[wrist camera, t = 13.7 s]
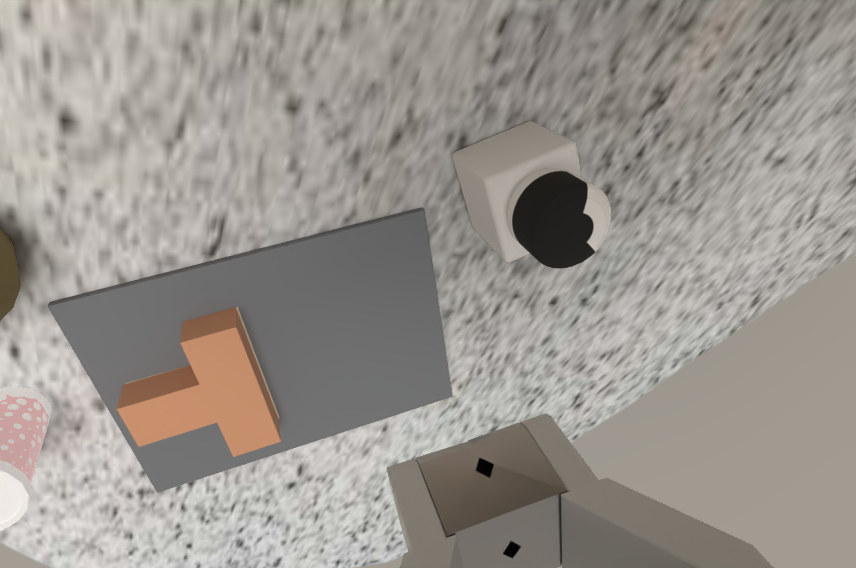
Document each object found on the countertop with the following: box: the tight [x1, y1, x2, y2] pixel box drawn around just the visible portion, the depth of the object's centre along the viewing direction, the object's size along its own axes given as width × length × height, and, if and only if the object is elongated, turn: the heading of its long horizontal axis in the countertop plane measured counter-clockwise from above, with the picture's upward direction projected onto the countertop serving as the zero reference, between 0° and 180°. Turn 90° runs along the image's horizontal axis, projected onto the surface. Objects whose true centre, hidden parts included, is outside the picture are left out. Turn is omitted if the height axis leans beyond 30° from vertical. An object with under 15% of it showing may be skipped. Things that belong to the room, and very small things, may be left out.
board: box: [48, 208, 452, 493], centre depth 47 cm, size 28×20×1 cm
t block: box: [117, 307, 281, 457], centre depth 44 cm, size 10×12×3 cm
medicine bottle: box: [452, 121, 611, 268], centre depth 41 cm, size 7×7×12 cm
